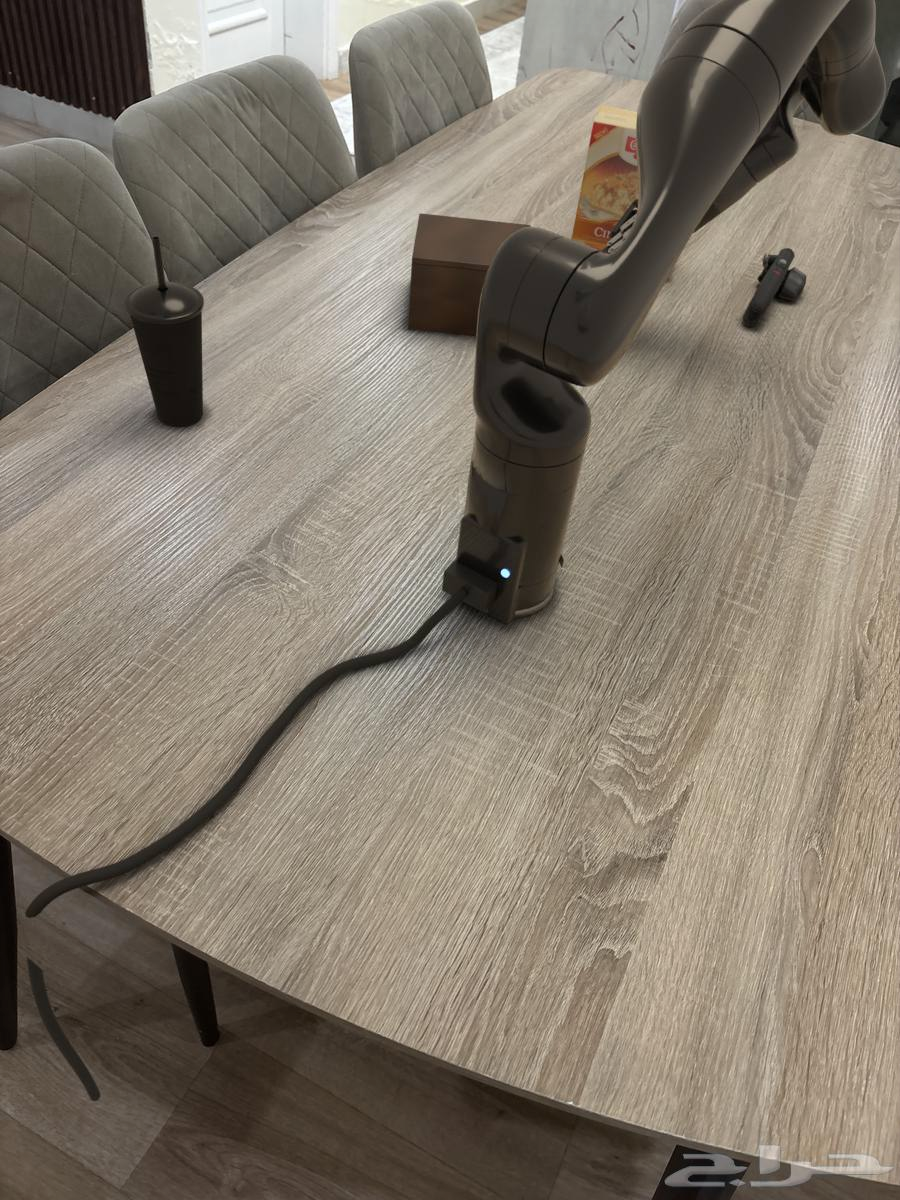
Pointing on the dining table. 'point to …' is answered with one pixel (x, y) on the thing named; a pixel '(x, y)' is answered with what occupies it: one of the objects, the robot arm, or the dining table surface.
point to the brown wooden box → (452, 270)
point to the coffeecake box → (607, 177)
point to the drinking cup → (170, 344)
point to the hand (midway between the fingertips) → (588, 273)
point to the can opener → (774, 284)
